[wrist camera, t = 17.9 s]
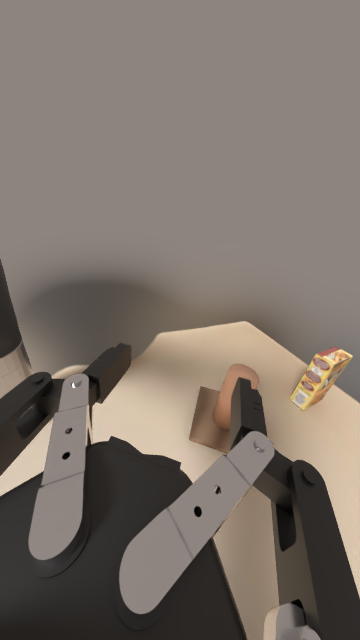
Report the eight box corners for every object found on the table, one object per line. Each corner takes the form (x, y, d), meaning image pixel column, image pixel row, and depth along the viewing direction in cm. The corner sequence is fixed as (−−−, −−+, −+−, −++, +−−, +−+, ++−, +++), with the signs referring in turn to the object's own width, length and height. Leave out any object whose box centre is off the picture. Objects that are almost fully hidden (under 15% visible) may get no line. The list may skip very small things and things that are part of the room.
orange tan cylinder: (211, 425, 38) (228, 381, 32) (213, 403, 43) (228, 360, 37) (238, 434, 37) (260, 390, 31) (237, 410, 42) (257, 368, 36)
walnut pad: (188, 439, 36) (189, 436, 36) (199, 389, 48) (200, 386, 47) (256, 464, 34) (259, 460, 34) (251, 405, 45) (253, 402, 45)
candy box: (303, 412, 46) (336, 365, 38) (287, 398, 49) (315, 352, 42) (321, 400, 50) (354, 356, 43) (306, 388, 53) (334, 345, 46)
